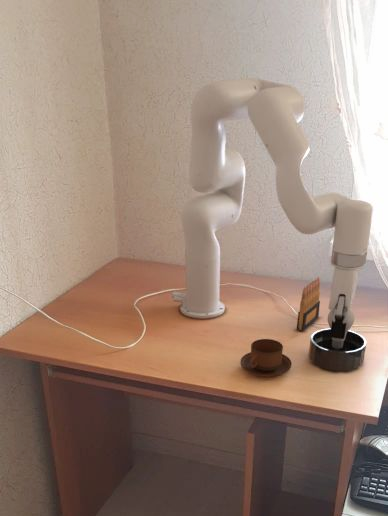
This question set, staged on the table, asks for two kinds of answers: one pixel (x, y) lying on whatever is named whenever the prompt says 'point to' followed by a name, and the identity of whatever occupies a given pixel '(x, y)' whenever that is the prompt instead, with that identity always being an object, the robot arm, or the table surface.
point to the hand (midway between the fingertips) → (339, 331)
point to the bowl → (337, 351)
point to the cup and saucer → (266, 359)
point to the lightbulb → (349, 322)
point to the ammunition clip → (309, 305)
